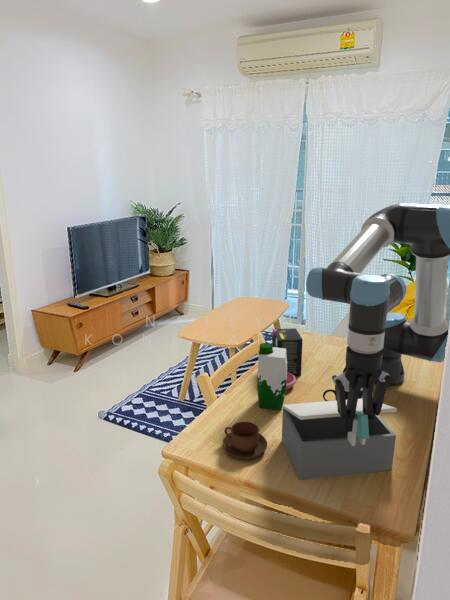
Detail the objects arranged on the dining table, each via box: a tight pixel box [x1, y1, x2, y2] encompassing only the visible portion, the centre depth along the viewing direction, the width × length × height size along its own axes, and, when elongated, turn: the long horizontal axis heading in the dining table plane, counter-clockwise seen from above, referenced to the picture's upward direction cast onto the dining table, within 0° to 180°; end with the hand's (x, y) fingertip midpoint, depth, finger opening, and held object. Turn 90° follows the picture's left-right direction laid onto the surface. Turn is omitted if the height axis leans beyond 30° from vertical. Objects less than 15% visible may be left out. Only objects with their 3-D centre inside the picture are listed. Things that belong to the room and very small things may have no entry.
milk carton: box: [257, 342, 287, 411], centre depth 138 cm, size 9×9×20 cm
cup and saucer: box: [222, 421, 268, 460], centre depth 118 cm, size 12×12×6 cm
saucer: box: [286, 372, 296, 391], centre depth 153 cm, size 12×12×3 cm
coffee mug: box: [322, 379, 363, 401], centre depth 134 cm, size 12×9×10 cm
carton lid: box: [282, 397, 397, 439], centre depth 108 cm, size 24×25×5 cm
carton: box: [281, 408, 397, 481], centre depth 114 cm, size 24×16×10 cm, turn 98°
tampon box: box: [271, 328, 303, 377], centre depth 162 cm, size 11×9×15 cm
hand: (356, 441), depth 101 cm, fingers closed on carton lid, 2 cm apart
